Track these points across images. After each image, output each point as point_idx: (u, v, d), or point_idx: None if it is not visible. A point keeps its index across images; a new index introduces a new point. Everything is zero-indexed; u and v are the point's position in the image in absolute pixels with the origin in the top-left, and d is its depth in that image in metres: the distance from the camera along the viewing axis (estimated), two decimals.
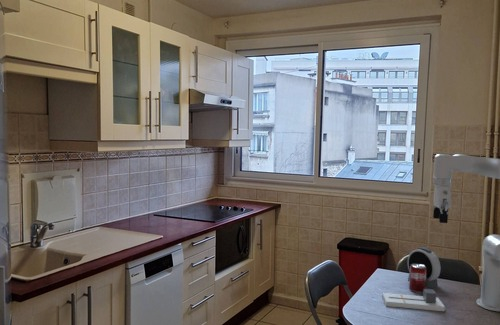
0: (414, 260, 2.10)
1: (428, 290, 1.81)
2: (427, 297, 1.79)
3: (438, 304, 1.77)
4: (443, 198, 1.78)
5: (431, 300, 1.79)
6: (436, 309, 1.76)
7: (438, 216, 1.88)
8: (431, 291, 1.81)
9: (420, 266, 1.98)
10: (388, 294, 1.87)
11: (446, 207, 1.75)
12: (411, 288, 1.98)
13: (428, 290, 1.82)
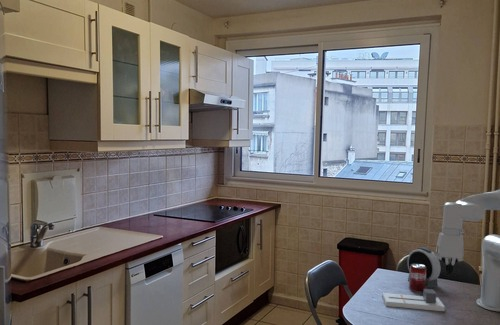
0: (414, 260, 2.10)
1: (428, 290, 1.81)
2: (427, 297, 1.79)
3: (438, 304, 1.77)
4: None
5: (431, 300, 1.79)
6: (436, 309, 1.76)
7: None
8: (431, 291, 1.81)
9: (420, 266, 1.98)
10: (388, 294, 1.87)
11: None
12: (411, 288, 1.98)
13: (428, 290, 1.82)
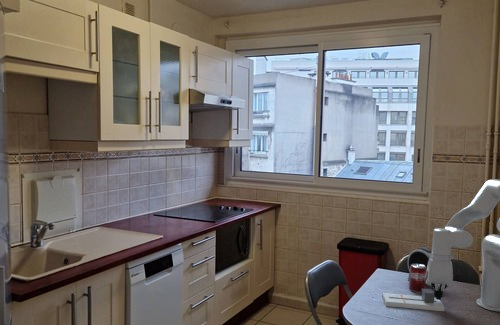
0: (414, 260, 2.10)
1: (427, 290, 1.81)
2: (425, 297, 1.79)
3: (438, 304, 1.77)
4: None
5: (429, 300, 1.79)
6: (436, 309, 1.76)
7: None
8: (429, 291, 1.81)
9: (420, 266, 1.98)
10: (388, 294, 1.87)
11: None
12: (411, 288, 1.98)
13: (426, 290, 1.82)
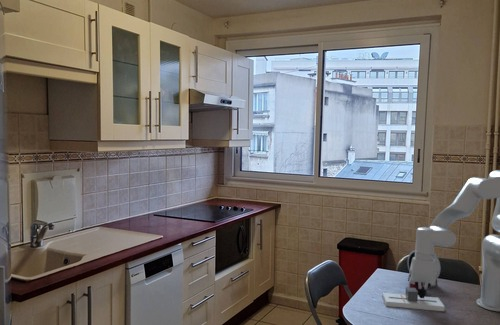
0: None
1: (410, 289, 1.83)
2: (409, 295, 1.80)
3: (438, 304, 1.77)
4: None
5: (413, 298, 1.80)
6: (436, 309, 1.76)
7: None
8: (413, 289, 1.82)
9: None
10: (388, 294, 1.87)
11: None
12: None
13: (410, 288, 1.83)
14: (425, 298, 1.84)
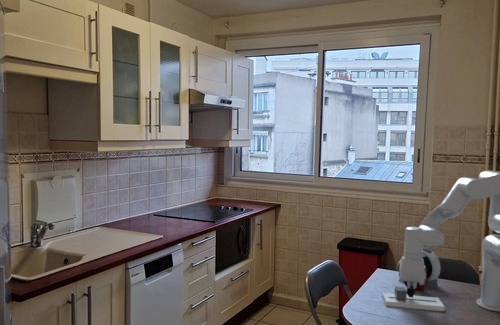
0: None
1: (399, 288, 1.83)
2: (398, 294, 1.81)
3: (438, 304, 1.77)
4: None
5: (402, 297, 1.81)
6: (436, 309, 1.76)
7: None
8: (402, 289, 1.83)
9: None
10: (388, 294, 1.87)
11: None
12: None
13: (399, 288, 1.84)
14: (425, 298, 1.84)
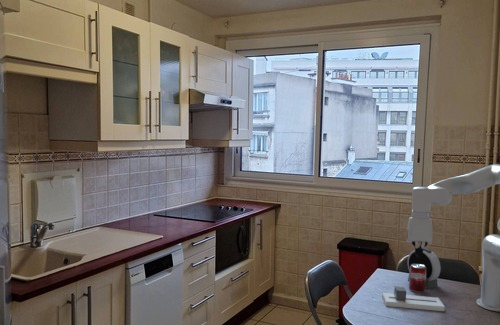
0: (414, 260, 2.10)
1: (399, 288, 1.83)
2: (397, 294, 1.81)
3: (438, 304, 1.77)
4: None
5: (401, 297, 1.81)
6: (436, 309, 1.76)
7: None
8: (402, 288, 1.83)
9: (420, 266, 1.98)
10: (388, 294, 1.87)
11: None
12: (411, 288, 1.98)
13: (399, 288, 1.84)
14: (425, 298, 1.84)
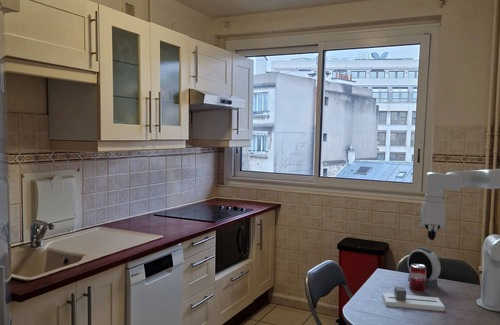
0: (414, 260, 2.10)
1: (399, 288, 1.83)
2: (397, 294, 1.81)
3: (438, 304, 1.77)
4: None
5: (401, 297, 1.81)
6: (436, 309, 1.76)
7: None
8: (402, 288, 1.83)
9: (420, 266, 1.98)
10: (388, 294, 1.87)
11: None
12: (411, 288, 1.98)
13: (399, 288, 1.84)
14: (425, 298, 1.84)
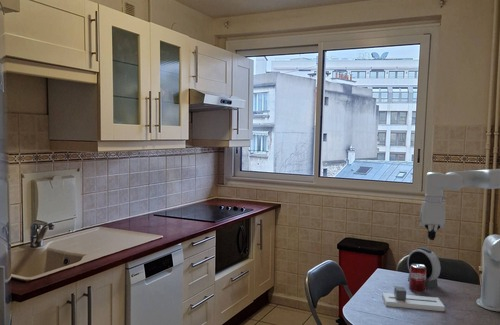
0: (414, 260, 2.10)
1: (399, 288, 1.83)
2: (397, 294, 1.81)
3: (438, 304, 1.77)
4: None
5: (401, 297, 1.81)
6: (436, 309, 1.76)
7: None
8: (402, 288, 1.83)
9: (420, 266, 1.98)
10: (388, 294, 1.87)
11: None
12: (411, 288, 1.98)
13: (399, 288, 1.84)
14: (425, 298, 1.84)
